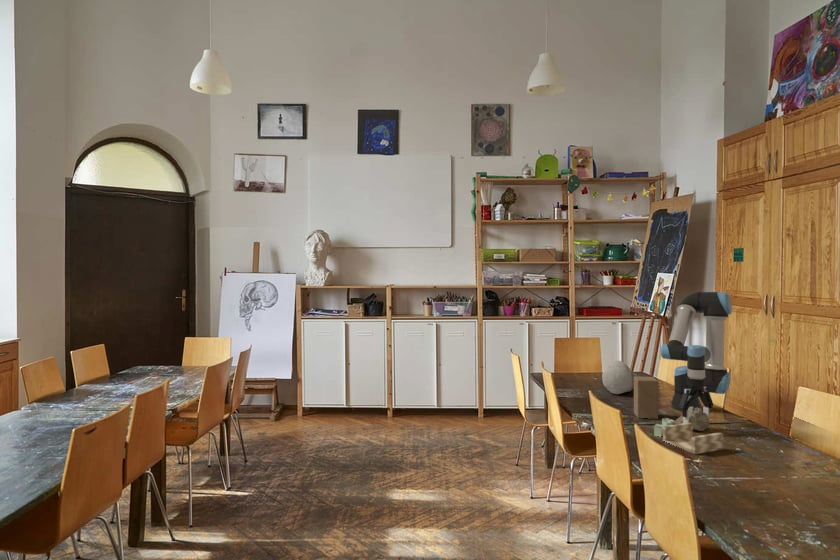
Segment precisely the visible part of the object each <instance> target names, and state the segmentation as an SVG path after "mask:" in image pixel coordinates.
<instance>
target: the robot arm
mask: <svg viewBox="0 0 840 560" xmlns="http://www.w3.org/2000/svg"><path fill="white" fill-rule="evenodd" d="M729 294H730V293H729ZM729 294H728V292H724V291H723V292H722V291H721V292H720V291H693V292H690V293H688V294H687V295H685V296H684V297H683V298H682V299H681V300H680V301H679V303H678V305H677V307H676V317H675V319H674V320H675V321H674V323H673V326H672V329H671V332H670V336H669V339H668V342H667V343H663V344H662V345H661V346H660V357H661V358H662V359H666V360H670V361H671V360H673V361H674V360H675V361H683V362H687V365H682V366H681V365H680V366H677V367H675V368H674V376H673V377H674V379H673V381H674V384H673V385H674V392H673V396H672V400H671V402H670V407H671V408H672V409H673V410H674V409H675V410H677V411H682V412H681V413H682V414H681V415H682V416H683V423H689V411H688V408H689V407H694V408H701V409H702V413H706V414H707V416H708V418H709V420H708V421H709V422H710V411H711V410H710V409H712V408H713V406H714V403H713V400H712V399H713V398H712V396H711V393H712V394H716V395H717V394H720V395H724V394H727V392H728V391H729V389H730V385H731V378H732V377H731V375H732V374H731V373H730V372H728V368H727V367H726V366H725V333H726V331H725V327H726V326H725V325H726V324H725V323H726V322H725V321H726V320H727V319H729V315H731V314H732V313H733V305H732V300H731V297H730V295H729ZM696 314H703V315H702V316H703V318H704V319H705V320H706V327H705V329H706V331H705V346H704V345H701V344H700V345H699V344H689V345H685V344H686V340H687V337H688V335H689V332H690V328H691V324H692V320H693V317H695V316H696ZM701 403H702V404H701ZM702 405H703V406H702Z"/></svg>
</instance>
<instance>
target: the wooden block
mask: <svg viewBox="0 0 840 560" xmlns="http://www.w3.org/2000/svg"><path fill="white" fill-rule="evenodd" d="M633 414H634V415H635V416H636V418H637V419H643V418H648V419H647V420H658V419H659V380H657V378H656V377H654V376H639V375H638V376H637V375H636V376H633Z"/></svg>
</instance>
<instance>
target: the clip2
mask: <svg viewBox="0 0 840 560" xmlns="http://www.w3.org/2000/svg"><path fill="white" fill-rule="evenodd" d="M663 426H666V425H662V424H659V423H655V424H654V426H653V431H654V433H653V434H654V437H657V436H659V437H658V438H663V437H662V435H663Z"/></svg>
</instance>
